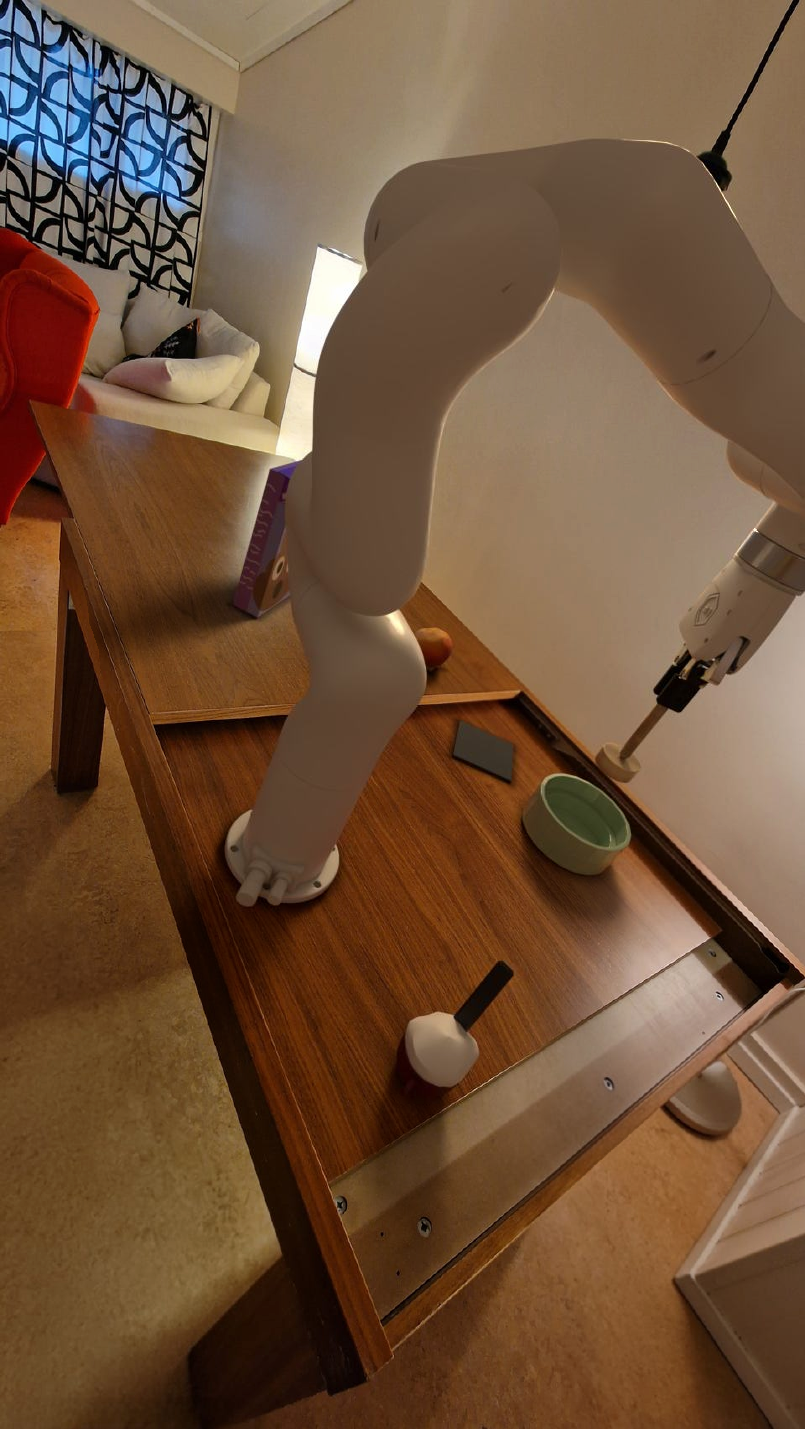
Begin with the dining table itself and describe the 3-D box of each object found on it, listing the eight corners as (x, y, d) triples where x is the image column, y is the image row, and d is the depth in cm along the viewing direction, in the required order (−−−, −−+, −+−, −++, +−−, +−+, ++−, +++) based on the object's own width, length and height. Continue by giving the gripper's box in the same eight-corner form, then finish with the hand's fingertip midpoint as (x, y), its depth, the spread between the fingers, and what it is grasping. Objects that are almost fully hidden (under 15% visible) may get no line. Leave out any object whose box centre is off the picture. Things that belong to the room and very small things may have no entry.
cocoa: (396, 1124, 52) (457, 1061, 46) (365, 1050, 56) (418, 981, 49) (480, 1083, 58) (545, 1022, 51) (447, 1018, 62) (504, 953, 55)
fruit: (441, 679, 110) (439, 634, 107) (403, 675, 114) (399, 633, 111) (460, 666, 116) (458, 624, 114) (423, 663, 120) (420, 622, 117)
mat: (510, 782, 97) (511, 780, 96) (452, 756, 96) (453, 754, 96) (512, 746, 105) (513, 744, 105) (458, 721, 104) (459, 719, 104)
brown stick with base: (634, 789, 77) (722, 685, 68) (596, 772, 76) (679, 665, 67) (629, 764, 81) (711, 663, 72) (593, 748, 81) (671, 644, 72)
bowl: (611, 893, 86) (637, 866, 83) (519, 851, 85) (541, 823, 82) (602, 824, 98) (624, 798, 94) (521, 787, 97) (540, 760, 93)
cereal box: (257, 618, 104) (298, 482, 91) (232, 605, 104) (270, 467, 91) (302, 588, 119) (343, 467, 106) (280, 576, 119) (318, 454, 106)
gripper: (724, 526, 69) (629, 658, 79) (766, 573, 56) (646, 724, 66) (784, 555, 69) (681, 683, 79) (840, 608, 56) (708, 753, 66)
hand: (666, 701), depth 73 cm, fingers closed on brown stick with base, 1 cm apart
